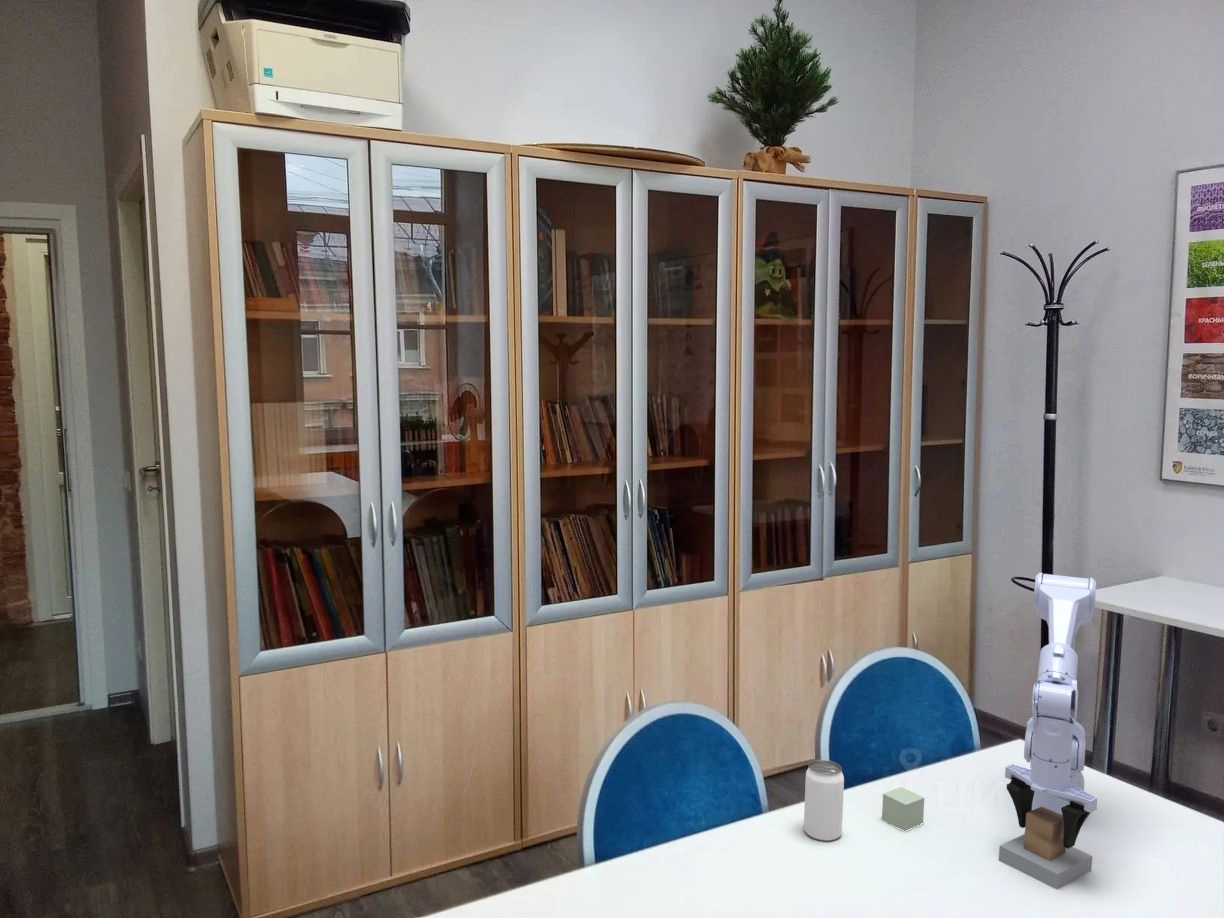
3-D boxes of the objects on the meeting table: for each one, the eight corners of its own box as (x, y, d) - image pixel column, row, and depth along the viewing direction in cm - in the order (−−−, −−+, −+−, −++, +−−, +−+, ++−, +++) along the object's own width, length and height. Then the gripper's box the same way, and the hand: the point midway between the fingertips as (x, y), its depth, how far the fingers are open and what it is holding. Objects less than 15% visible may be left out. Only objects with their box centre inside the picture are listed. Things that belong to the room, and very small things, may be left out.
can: (842, 844, 154) (845, 776, 153) (803, 839, 156) (806, 772, 154) (840, 825, 161) (843, 760, 159) (803, 821, 162) (805, 756, 161)
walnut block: (1039, 840, 151) (1041, 806, 151) (1065, 852, 148) (1067, 817, 147) (1023, 848, 149) (1026, 813, 148) (1050, 860, 145) (1052, 824, 145)
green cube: (900, 813, 166) (901, 786, 165) (923, 824, 162) (924, 797, 161) (881, 820, 163) (883, 793, 163) (904, 832, 159) (906, 804, 158)
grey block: (1033, 846, 156) (1034, 829, 155) (1091, 873, 147) (1092, 855, 147) (998, 863, 150) (999, 845, 150) (1056, 892, 142) (1057, 874, 141)
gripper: (996, 745, 151) (991, 823, 152) (1082, 778, 139) (1076, 863, 140) (1020, 736, 154) (1016, 812, 156) (1106, 767, 142) (1100, 850, 144)
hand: (1046, 835), depth 148 cm, fingers open, 7 cm apart
